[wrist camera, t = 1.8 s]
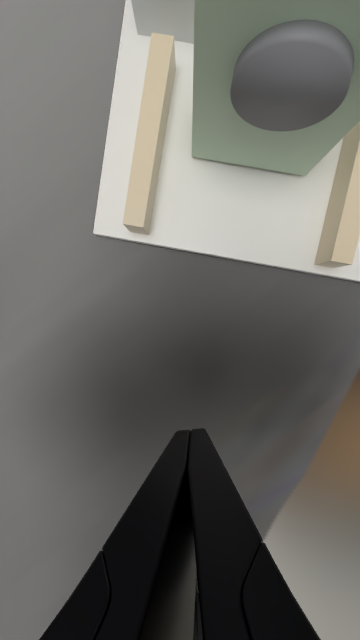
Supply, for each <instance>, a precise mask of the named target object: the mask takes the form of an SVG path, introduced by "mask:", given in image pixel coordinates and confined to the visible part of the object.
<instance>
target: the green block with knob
mask: <svg viewBox="0 0 360 640" xmlns="http://www.w3.org/2000/svg"><path fill="white" fill-rule="evenodd" d="M359 121H360V0H195V4H194V58H193V112H192V157H198V158H204V159H210V160H215V161H221V162H227V163H233V164H239V165H244V166H250V167H256V168H262V169H268V170H273V171H279V172H285V173H291V174H297V175H302V176H306V175H307V174H308V173H309V172H310V171H311V170H312V169H313V168H314V167H315V166H316V165H317V164H318V163H319V162H320V161H321V160H322V159H323V158H324V157H325V156H326V155H327V153H328V152H329V151H330V150H331V149H332V148H333V147H334V146H335V145H336V144H337V143H338V142H339V141H340V140H341V139H342V138H343V137H344V136H345V135H346V134H347V133H348V132H349V131H350V130H351V129H352V128H353V127H354V126H355V125H356V124H357V123H358V122H359Z"/></svg>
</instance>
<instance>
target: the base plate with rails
mask: <svg viewBox="0 0 360 640" xmlns="http://www.w3.org/2000/svg"><path fill="white" fill-rule="evenodd" d="M194 4H195V0H126V3H125V11H124V18H123V25H122V32H121V39H120V46H119V53H118V60H117V68H116V75H115V82H114V89H113V96H112V103H111V110H110V117H109V124H108V132H107V139H106V146H105V153H104V160H103V167H102V174H101V181H100V189H99V196H98V203H97V210H96V217H95V224H94V231H93V234H95V235H97V236H102V237H108V238H113V239H119V240H125V241H130V242H136V243H141V244H147V245H153V246H158V247H164V248H169V249H175V250H181V251H186V252H192V253H197V254H203V255H209V256H214V257H220V258H225V259H231V260H237V261H242V262H248V263H253V264H259V265H265V266H270V267H276V268H281V269H287V270H292V271H298V272H304V273H309V274H315V275H320V276H326V277H332V278H337V279H343V280H348V281H354V282H360V121H359V122H358V123H357V124H356V125H355V126H354V127H353V128H352V129H351V130H350V131H349V132H348V133H347V134H346V135H345V136H344V137H343V138H342V139H341V140H340V141H339V142H338V143H337V144H336V145H335V146H334V147H333V148H332V149H331V150H330V151H329V152H328V153H327V155H326V156H325V157H324V158H323V159H322V160H321V161H320V162H319V163H318V164H317V165H316V166H315V167H314V168H313V169H312V170H311V171H310V172H309V173H308V174H307V175H306V176H302V175H297V174H291V173H285V172H279V171H273V170H268V169H262V168H256V167H250V166H244V165H239V164H233V163H227V162H221V161H215V160H210V159H204V158H198V157H192V112H193V58H194Z"/></svg>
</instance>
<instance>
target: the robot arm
mask: <svg viewBox="0 0 360 640" xmlns="http://www.w3.org/2000/svg"><path fill="white" fill-rule="evenodd" d="M102 550H103V551H100V552H99V553H98V555H97V556H96V558H95V560H94V561H93V563H92V564H91V566H90V567H89V569H88V570H87V572H86V574H85V575H84V577H83V578H82V580H81V581H80V583H79V584H78V586H77V587H76V589H75V590H74V592H73V593H72V595H71V596H70V598H69V599H68V600H67V602H66V603H65V605H64V606H63V607H62V609H61V610H60V612H59V613H58V614H57V616H56V617H55V619H54V620H53V621H52V623H51V624H50V625H49V627H48V628H47V630H46V631H45V632H44V634H43V635H42V637H41V638H40V639H39V640H321V639H320V638H319V636H318V635H317V633H316V632H315V630H314V628H313V627H312V625H311V624H310V622H309V621H308V619H307V617H306V615H305V614H304V612H303V611H302V609H301V608H300V606H299V604H298V602H297V601H296V599H295V598H294V596H293V594H292V592H291V591H290V589H289V587H288V585H287V584H286V582H285V580H284V578H283V576H282V574H281V573H280V571H279V569H278V567H277V565H276V564H275V562H274V560H273V558H272V556H271V554H270V552H269V550H268V549H267V547H266V545H265V543H263V539H262V537H261V535H260V533H259V532H258V530H257V528H256V526H255V524H254V522H253V520H252V518H251V516H250V514H249V512H248V510H247V509H246V507H245V505H244V503H243V501H242V499H241V497H240V495H239V493H238V491H237V489H236V487H235V485H234V484H233V482H232V480H231V478H230V476H229V474H228V472H227V470H226V468H225V466H224V464H223V462H222V461H221V459H220V457H219V455H218V453H217V451H216V449H215V447H214V445H213V443H212V441H211V439H210V438H209V436H208V434H207V432H206V430H205V429H204V428H201V429H192V430H191V431H190V430H182V431H177V432H176V433H175V434H174V436H173V437H172V439H171V440H170V442H169V444H168V445H167V447H166V448H165V450H164V451H163V453H162V455H161V456H160V458H159V459H158V461H157V462H156V464H155V466H154V467H153V469H152V470H151V472H150V473H149V475H148V477H147V478H146V480H145V481H144V483H143V484H142V486H141V488H140V489H139V491H138V492H137V494H136V495H135V497H134V499H133V500H132V502H131V503H130V505H129V506H128V508H127V510H126V511H125V513H124V514H123V516H122V517H121V519H120V521H119V522H118V524H117V525H116V527H115V528H114V530H113V532H112V533H111V535H110V536H109V538H108V539H107V541H106V543H105V544H104V546H103V548H102ZM196 572H197V581H198V592H199V596H198V594H197V592H196Z"/></svg>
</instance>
